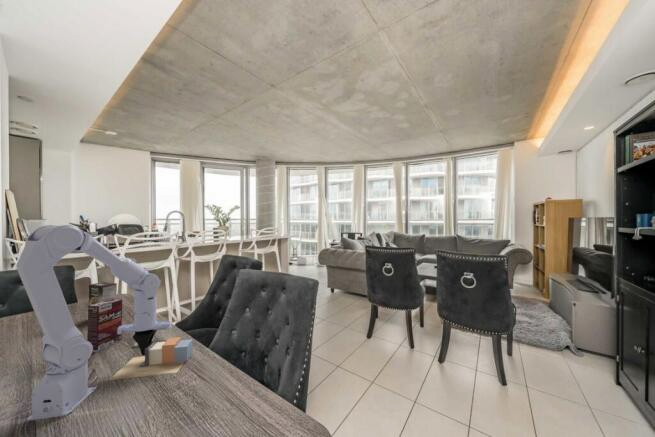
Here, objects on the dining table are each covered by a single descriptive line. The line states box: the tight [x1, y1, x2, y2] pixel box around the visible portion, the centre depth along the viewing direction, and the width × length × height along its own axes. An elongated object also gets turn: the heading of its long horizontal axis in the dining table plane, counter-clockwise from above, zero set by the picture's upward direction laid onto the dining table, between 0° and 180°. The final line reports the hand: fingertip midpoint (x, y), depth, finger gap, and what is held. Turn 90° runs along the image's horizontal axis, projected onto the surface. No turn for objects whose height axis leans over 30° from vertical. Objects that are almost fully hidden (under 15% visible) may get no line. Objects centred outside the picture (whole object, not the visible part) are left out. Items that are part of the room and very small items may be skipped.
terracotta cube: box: [162, 336, 182, 363], centre depth 80 cm, size 5×4×6 cm
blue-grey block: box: [175, 338, 194, 362], centre depth 80 cm, size 5×4×4 cm
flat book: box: [133, 336, 155, 348], centre depth 91 cm, size 6×4×2 cm
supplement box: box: [86, 298, 123, 354], centre depth 89 cm, size 9×5×16 cm, turn 168°
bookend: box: [139, 337, 159, 367], centre depth 78 cm, size 6×2×6 cm, turn 11°
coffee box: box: [88, 281, 118, 306], centre depth 116 cm, size 9×6×16 cm
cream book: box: [149, 341, 166, 365], centre depth 79 cm, size 5×4×4 cm
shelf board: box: [108, 355, 186, 381], centre depth 76 cm, size 12×18×1 cm
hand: (145, 353), depth 78 cm, fingers closed
